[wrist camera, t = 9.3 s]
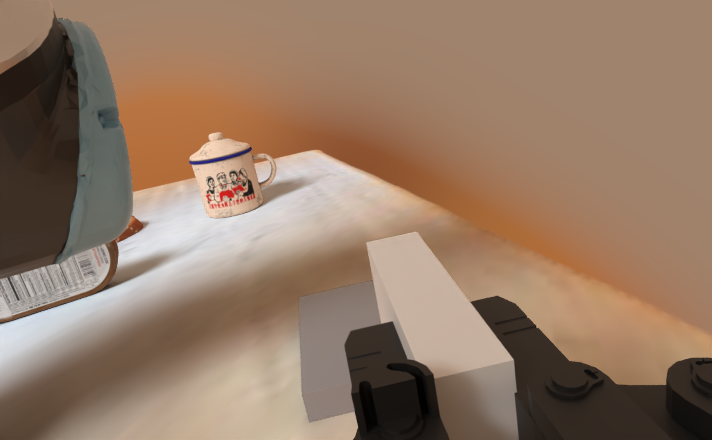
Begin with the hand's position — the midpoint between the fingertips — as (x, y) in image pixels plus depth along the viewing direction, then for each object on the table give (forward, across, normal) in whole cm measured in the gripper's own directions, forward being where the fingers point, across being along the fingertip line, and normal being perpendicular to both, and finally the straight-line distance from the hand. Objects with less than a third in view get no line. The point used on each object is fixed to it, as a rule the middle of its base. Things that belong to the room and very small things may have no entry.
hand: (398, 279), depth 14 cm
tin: (+36, -31, -12) cm, 49 cm away
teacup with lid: (+61, -13, -12) cm, 64 cm away
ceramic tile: (+9, 0, -11) cm, 14 cm away
